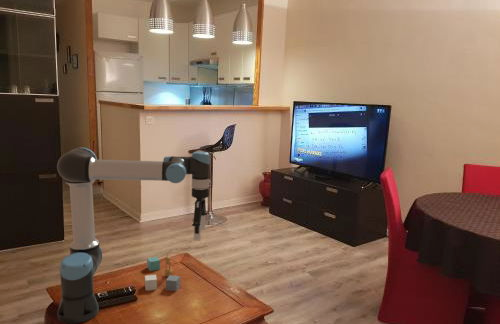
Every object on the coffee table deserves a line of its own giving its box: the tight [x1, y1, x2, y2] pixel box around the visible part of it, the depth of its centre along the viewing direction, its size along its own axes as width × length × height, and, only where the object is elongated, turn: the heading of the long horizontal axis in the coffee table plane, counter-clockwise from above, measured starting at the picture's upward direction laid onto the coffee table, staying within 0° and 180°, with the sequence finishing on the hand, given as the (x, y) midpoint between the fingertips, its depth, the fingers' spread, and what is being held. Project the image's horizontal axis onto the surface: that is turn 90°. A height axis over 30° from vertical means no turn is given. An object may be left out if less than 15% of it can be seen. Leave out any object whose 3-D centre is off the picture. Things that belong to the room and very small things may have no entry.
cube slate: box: [165, 274, 181, 292], centre depth 182 cm, size 5×5×5 cm
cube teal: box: [146, 256, 161, 272], centre depth 201 cm, size 5×5×5 cm
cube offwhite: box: [144, 274, 158, 292], centre depth 181 cm, size 5×5×5 cm
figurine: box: [159, 254, 177, 278], centre depth 191 cm, size 8×6×12 cm
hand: (199, 234), depth 175 cm, fingers open, 13 cm apart
